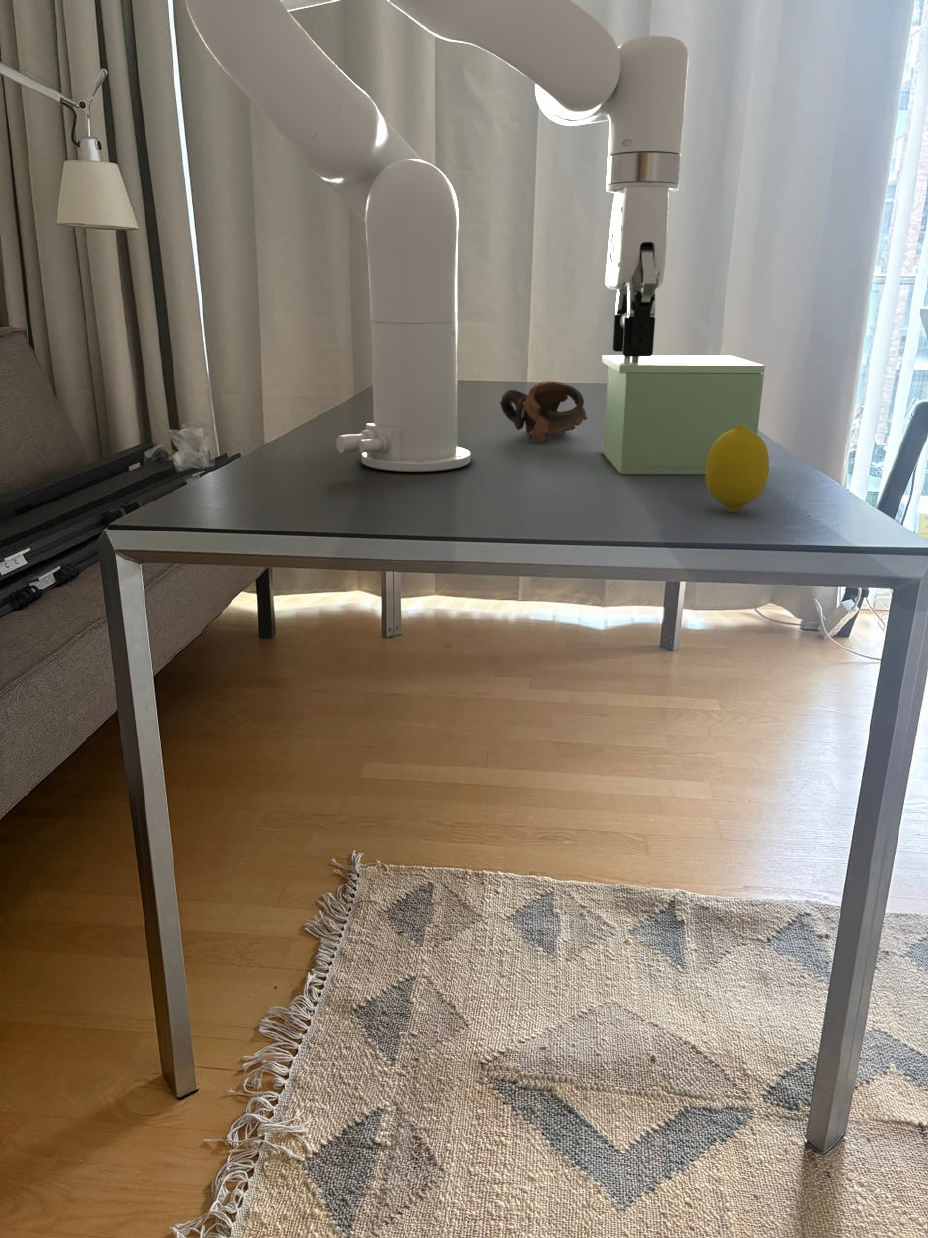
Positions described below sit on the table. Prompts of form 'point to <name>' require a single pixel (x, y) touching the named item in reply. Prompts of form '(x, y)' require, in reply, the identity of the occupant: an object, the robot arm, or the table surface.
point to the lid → (680, 363)
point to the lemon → (737, 468)
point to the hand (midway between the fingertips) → (631, 352)
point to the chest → (675, 418)
